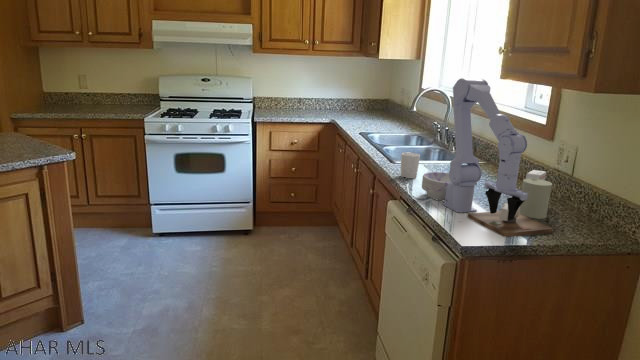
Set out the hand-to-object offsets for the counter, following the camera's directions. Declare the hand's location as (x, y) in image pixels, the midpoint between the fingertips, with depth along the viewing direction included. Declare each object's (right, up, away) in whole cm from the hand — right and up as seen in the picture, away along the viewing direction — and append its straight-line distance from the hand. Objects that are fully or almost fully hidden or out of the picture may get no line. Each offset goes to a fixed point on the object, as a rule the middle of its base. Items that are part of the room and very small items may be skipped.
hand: (501, 216), depth 148 cm
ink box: (+22, +3, +28) cm, 36 cm away
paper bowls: (-11, +5, +29) cm, 32 cm away
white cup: (-18, +12, +57) cm, 61 cm away
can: (+16, -1, +15) cm, 22 cm away
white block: (+2, 0, +1) cm, 2 cm away
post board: (+3, -3, +3) cm, 5 cm away
